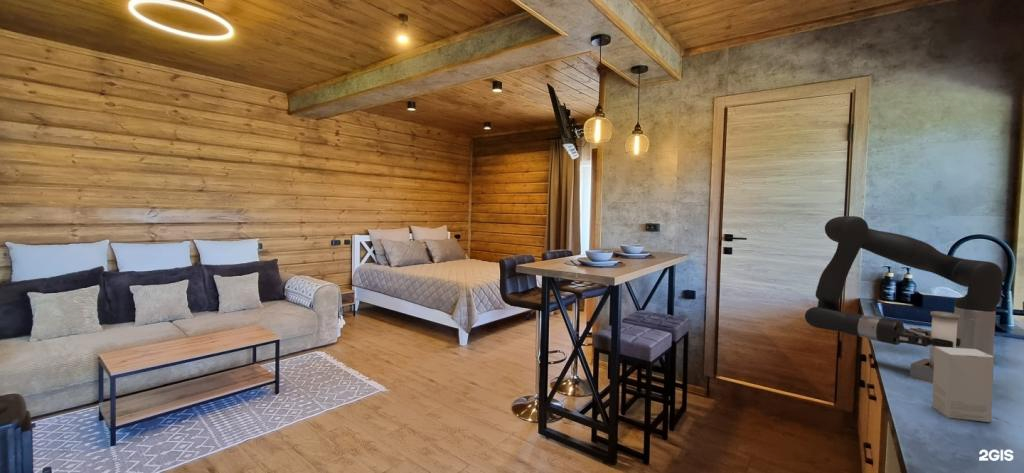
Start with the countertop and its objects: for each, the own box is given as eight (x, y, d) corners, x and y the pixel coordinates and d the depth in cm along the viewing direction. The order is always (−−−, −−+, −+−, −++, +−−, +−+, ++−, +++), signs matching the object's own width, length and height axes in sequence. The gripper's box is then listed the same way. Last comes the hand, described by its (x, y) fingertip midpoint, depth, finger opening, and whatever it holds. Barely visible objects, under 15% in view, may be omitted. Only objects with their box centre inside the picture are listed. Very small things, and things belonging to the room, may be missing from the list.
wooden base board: (938, 367, 134) (939, 351, 134) (989, 379, 124) (990, 362, 124) (908, 380, 123) (908, 363, 122) (961, 394, 113) (962, 376, 113)
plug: (931, 371, 124) (935, 310, 123) (959, 377, 119) (963, 314, 118) (923, 374, 122) (927, 312, 121) (951, 381, 116) (955, 316, 116)
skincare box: (973, 411, 103) (977, 348, 102) (993, 424, 97) (997, 357, 96) (929, 406, 106) (933, 344, 105) (946, 418, 100) (950, 352, 99)
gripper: (870, 320, 129) (947, 334, 114) (890, 315, 136) (966, 327, 121) (868, 344, 129) (946, 361, 114) (889, 338, 136) (964, 353, 121)
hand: (956, 344), depth 118 cm, fingers closed on plug, 5 cm apart
